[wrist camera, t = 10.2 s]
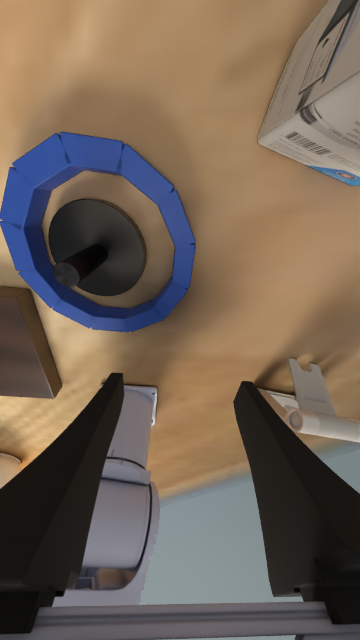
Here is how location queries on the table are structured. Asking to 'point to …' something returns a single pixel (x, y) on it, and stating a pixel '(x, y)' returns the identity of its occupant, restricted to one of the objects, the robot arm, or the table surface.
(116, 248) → the post
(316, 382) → the tablet stand
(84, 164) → the ring
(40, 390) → the platform
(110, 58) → the table surface
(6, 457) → the trinket box
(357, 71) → the ink box
